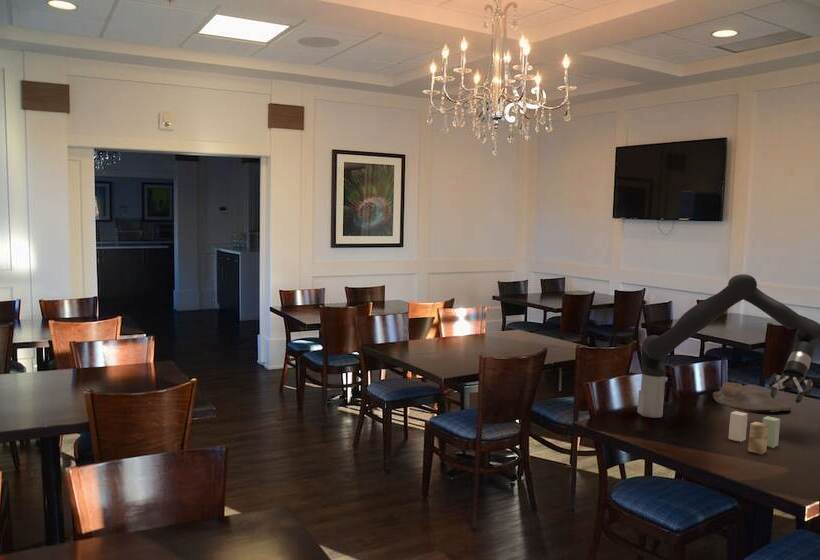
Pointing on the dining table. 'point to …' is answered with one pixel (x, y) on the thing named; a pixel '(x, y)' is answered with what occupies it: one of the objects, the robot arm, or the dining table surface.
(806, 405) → the dining table surface
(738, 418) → the cream block
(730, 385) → the flat cap
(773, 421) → the sage block
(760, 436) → the oak block
